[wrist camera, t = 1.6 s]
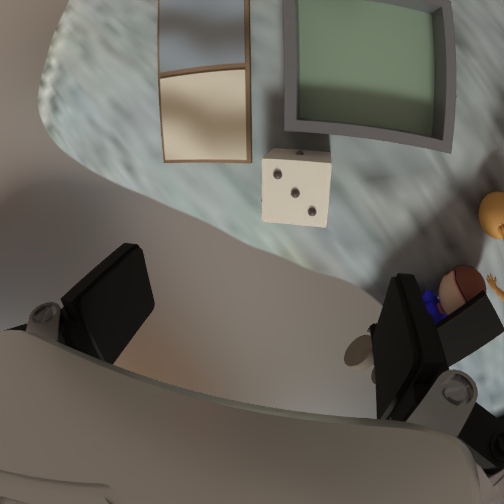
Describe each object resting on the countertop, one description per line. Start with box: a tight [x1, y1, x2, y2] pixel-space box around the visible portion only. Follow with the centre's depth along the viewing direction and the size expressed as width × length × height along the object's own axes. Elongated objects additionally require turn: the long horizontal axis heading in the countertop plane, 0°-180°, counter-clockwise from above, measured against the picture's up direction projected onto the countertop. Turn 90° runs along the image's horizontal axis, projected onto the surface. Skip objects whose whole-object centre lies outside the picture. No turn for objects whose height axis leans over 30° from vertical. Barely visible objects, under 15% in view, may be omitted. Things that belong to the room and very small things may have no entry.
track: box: [158, 0, 252, 163], centre depth 18 cm, size 24×8×1 cm, turn 1°
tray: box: [283, 0, 456, 154], centre depth 15 cm, size 12×12×3 cm
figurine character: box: [344, 265, 504, 384], centre depth 23 cm, size 7×8×15 cm
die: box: [261, 148, 332, 228], centre depth 21 cm, size 5×5×5 cm
